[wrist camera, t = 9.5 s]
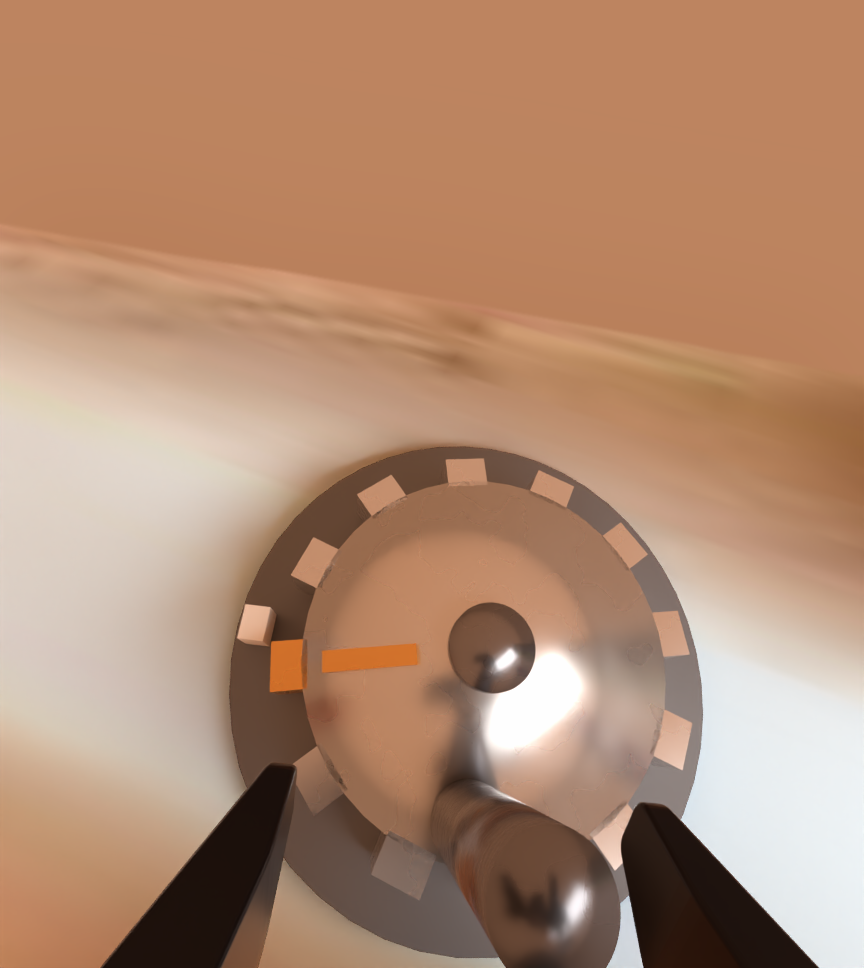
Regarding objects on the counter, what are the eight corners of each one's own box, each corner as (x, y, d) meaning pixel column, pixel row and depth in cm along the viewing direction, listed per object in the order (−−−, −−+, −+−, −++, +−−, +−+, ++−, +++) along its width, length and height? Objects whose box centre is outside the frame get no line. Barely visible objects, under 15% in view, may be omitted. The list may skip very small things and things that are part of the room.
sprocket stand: (442, 1109, 16) (454, 1169, 14) (142, 617, 20) (117, 605, 18) (776, 694, 22) (819, 692, 20) (490, 390, 27) (501, 362, 25)
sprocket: (346, 981, 16) (327, 1325, 7) (240, 537, 21) (149, 400, 12) (733, 781, 20) (1052, 834, 11) (562, 444, 25) (677, 285, 16)
